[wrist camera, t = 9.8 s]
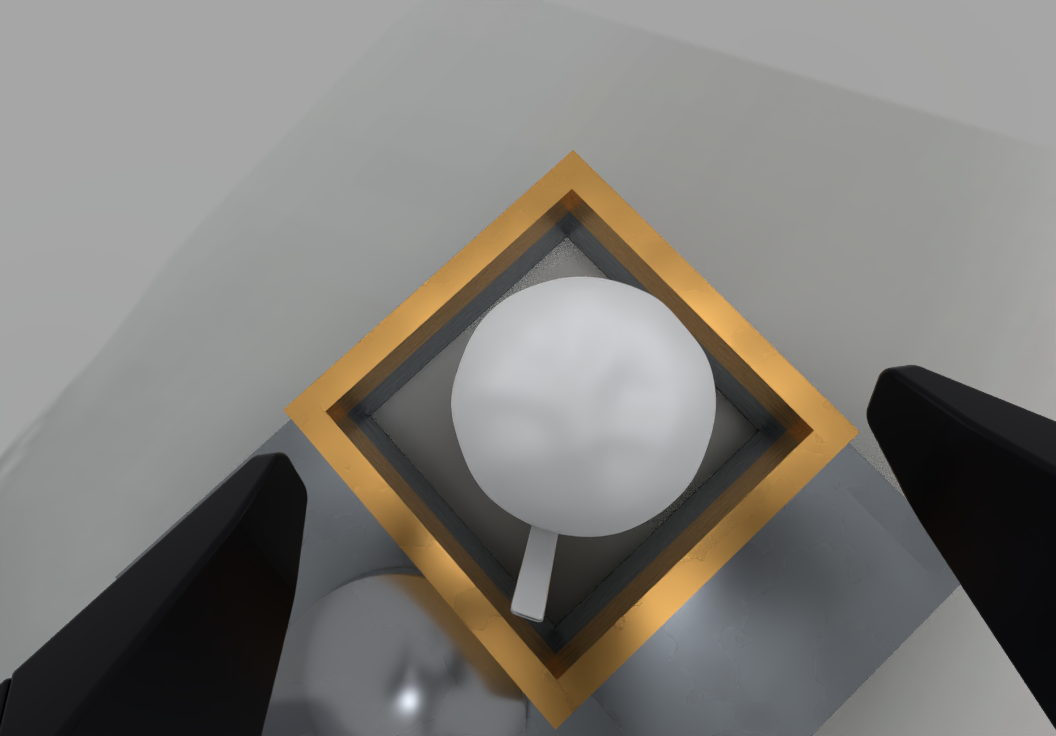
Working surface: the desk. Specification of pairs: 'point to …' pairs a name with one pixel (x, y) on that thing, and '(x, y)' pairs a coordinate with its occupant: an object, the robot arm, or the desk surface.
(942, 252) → the desk surface
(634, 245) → the orange-framed metal plate
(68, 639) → the robot arm
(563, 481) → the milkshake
